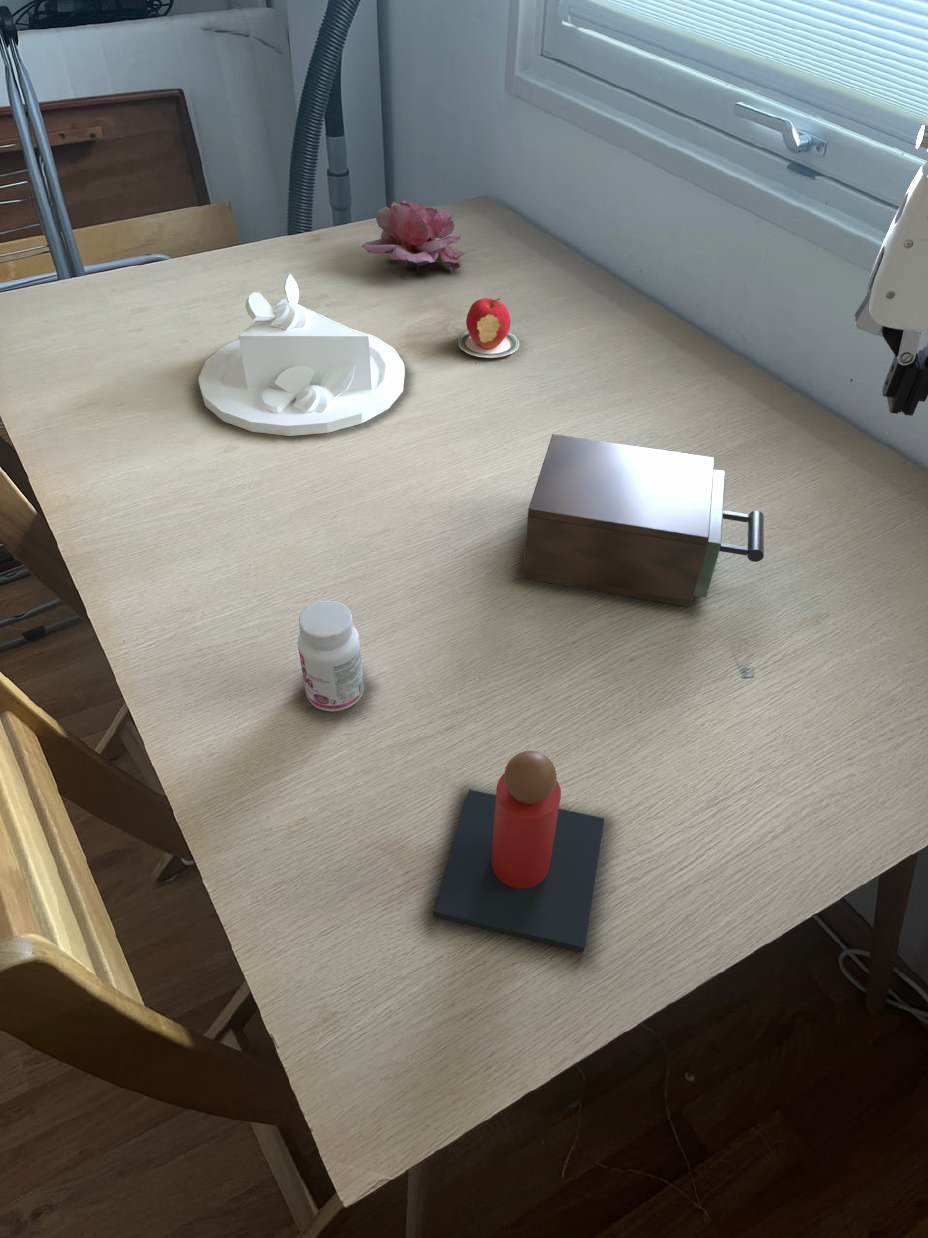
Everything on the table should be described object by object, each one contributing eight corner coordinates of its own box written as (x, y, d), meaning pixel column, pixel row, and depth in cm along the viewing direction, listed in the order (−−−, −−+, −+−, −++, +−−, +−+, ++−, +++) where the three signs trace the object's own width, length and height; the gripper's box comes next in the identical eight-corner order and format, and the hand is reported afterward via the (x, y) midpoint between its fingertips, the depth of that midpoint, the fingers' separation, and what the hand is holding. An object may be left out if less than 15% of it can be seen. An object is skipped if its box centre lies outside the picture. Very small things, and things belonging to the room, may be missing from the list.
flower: (427, 280, 123) (431, 202, 119) (346, 270, 130) (347, 196, 126) (484, 277, 134) (489, 205, 130) (407, 267, 141) (409, 199, 137)
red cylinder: (554, 844, 61) (570, 742, 53) (544, 895, 59) (559, 795, 51) (498, 831, 62) (506, 729, 54) (485, 881, 59) (492, 781, 51)
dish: (159, 410, 103) (136, 318, 95) (266, 321, 120) (253, 236, 112) (350, 453, 97) (342, 359, 89) (433, 353, 114) (433, 266, 106)
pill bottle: (293, 692, 72) (280, 618, 66) (337, 661, 74) (328, 587, 69) (332, 723, 70) (321, 649, 64) (376, 690, 72) (370, 616, 66)
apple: (531, 350, 115) (534, 302, 110) (481, 366, 112) (482, 317, 107) (495, 326, 120) (497, 279, 115) (446, 341, 116) (446, 293, 112)
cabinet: (697, 524, 89) (714, 457, 83) (690, 607, 80) (709, 537, 74) (545, 500, 91) (552, 433, 86) (522, 578, 82) (528, 509, 77)
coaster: (603, 822, 63) (604, 818, 63) (583, 952, 56) (584, 948, 56) (468, 793, 65) (469, 789, 65) (433, 916, 58) (433, 912, 58)
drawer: (754, 530, 87) (770, 477, 82) (753, 606, 79) (771, 552, 74) (567, 500, 90) (573, 448, 85) (548, 571, 82) (554, 517, 77)
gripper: (885, 159, 55) (802, 416, 68) (1147, 182, 53) (1009, 445, 65) (874, 126, 60) (799, 370, 73) (1112, 145, 58) (991, 395, 71)
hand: (899, 405), depth 69 cm, fingers closed
